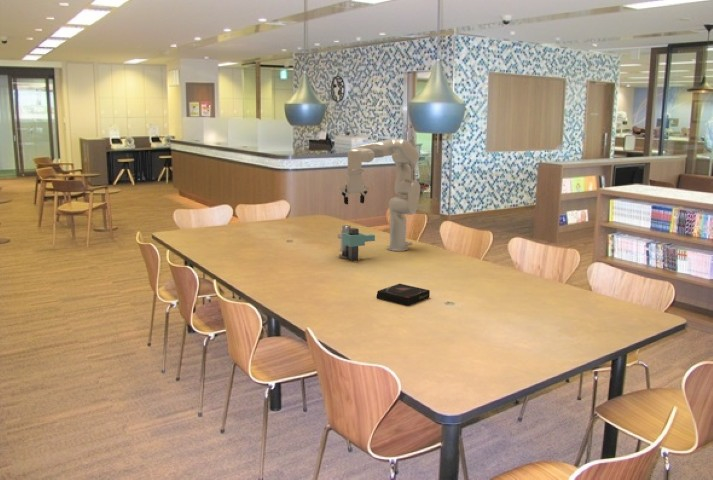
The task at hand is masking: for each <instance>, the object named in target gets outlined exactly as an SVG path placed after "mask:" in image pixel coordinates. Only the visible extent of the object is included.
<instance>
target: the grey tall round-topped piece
mask: <svg viewBox="0 0 713 480" xmlns="http://www.w3.org/2000/svg"><path fill="white" fill-rule="evenodd" d="M349 228H352V226H351V225H350V224H349V225H348V224H345V225H344V224H343V225H342V227H341V230H342V233H349ZM337 239H340V240H341V239H342V234H341V233H339V234H337ZM338 257H339V258H340V259H342V260H345V259H346V260H349V246H347V245H344V244H342V250H341V254H339V256H338Z"/></svg>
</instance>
